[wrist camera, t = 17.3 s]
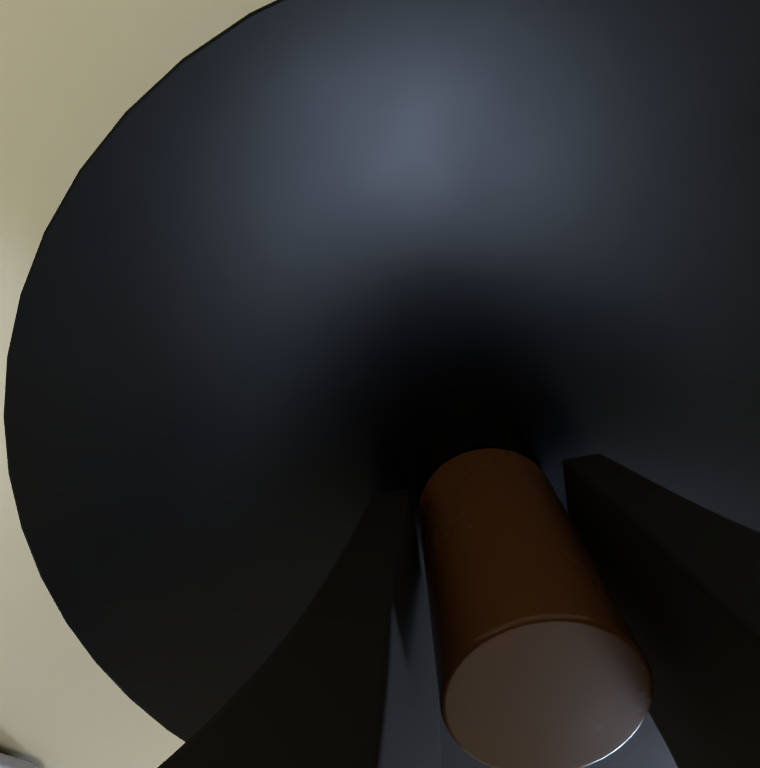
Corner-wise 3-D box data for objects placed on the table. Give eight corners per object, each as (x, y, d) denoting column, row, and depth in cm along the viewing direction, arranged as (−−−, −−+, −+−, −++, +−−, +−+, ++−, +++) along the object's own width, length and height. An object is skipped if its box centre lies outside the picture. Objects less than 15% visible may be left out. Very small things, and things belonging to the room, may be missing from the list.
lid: (-52, 624, 12) (-320, 905, 8) (240, -304, 7) (-24, -1205, 3) (590, 855, 15) (687, 1172, 10) (1140, 289, 10) (1848, 399, 5)
